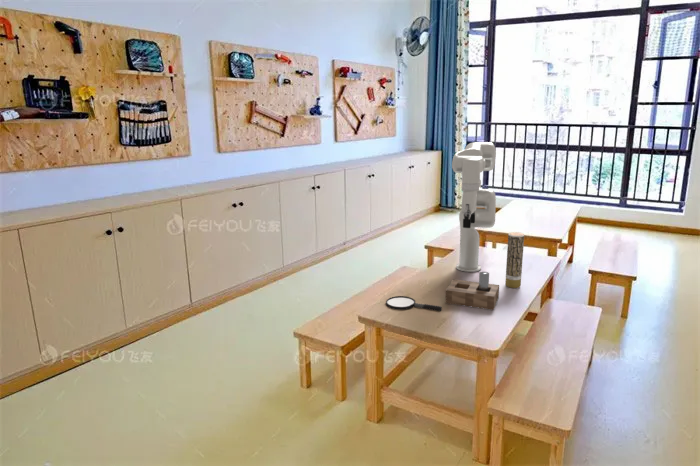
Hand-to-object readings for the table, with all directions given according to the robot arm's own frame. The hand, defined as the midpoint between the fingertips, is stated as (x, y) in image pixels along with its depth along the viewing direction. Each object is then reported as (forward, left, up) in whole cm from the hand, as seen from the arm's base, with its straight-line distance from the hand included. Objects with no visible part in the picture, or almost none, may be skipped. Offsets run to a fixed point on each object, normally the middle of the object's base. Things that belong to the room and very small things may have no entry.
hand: (468, 225), depth 214 cm
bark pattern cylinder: (-12, +19, -31) cm, 38 cm away
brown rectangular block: (+12, +5, -30) cm, 33 cm away
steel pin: (+12, +9, -29) cm, 33 cm away
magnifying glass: (+27, -17, -31) cm, 44 cm away
